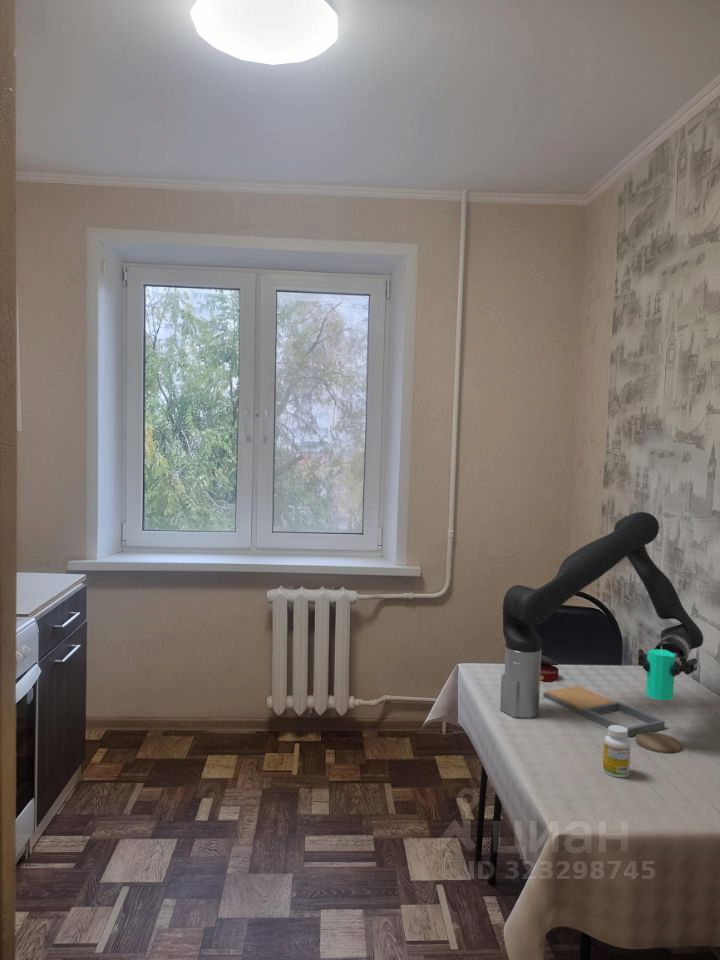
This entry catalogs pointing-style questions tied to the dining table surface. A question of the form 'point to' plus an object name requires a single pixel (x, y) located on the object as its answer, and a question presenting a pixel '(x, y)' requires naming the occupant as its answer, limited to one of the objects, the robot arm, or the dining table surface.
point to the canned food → (548, 670)
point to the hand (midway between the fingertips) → (660, 669)
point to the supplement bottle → (617, 752)
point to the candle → (660, 674)
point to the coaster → (658, 742)
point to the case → (601, 708)
